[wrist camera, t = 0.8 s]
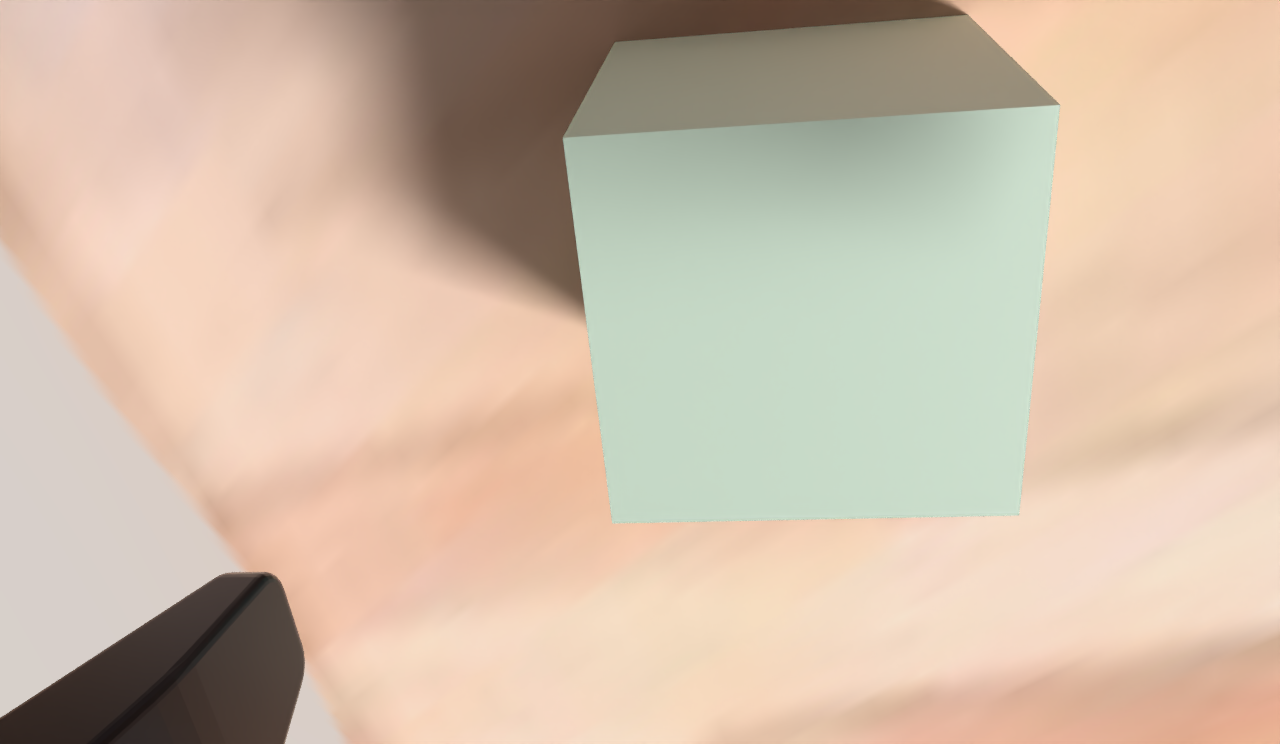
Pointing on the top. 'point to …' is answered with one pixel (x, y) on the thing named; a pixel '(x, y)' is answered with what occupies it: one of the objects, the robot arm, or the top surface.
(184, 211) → the top surface
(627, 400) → the sage cube
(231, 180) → the top surface
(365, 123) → the top surface
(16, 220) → the top surface
